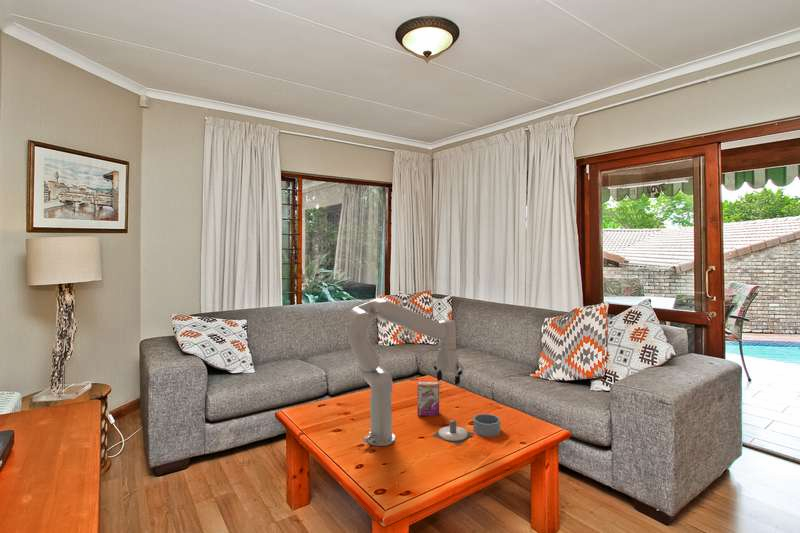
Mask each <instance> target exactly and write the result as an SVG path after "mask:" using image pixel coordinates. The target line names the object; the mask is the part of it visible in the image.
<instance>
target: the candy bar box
mask: <svg viewBox="0 0 800 533" xmlns="http://www.w3.org/2000/svg"><path fill="white" fill-rule="evenodd" d="M417 416H418V417H421V416H422V417H429V416H434V417H435V416H440V381H437V382H436V381H418V382H417Z"/></svg>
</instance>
